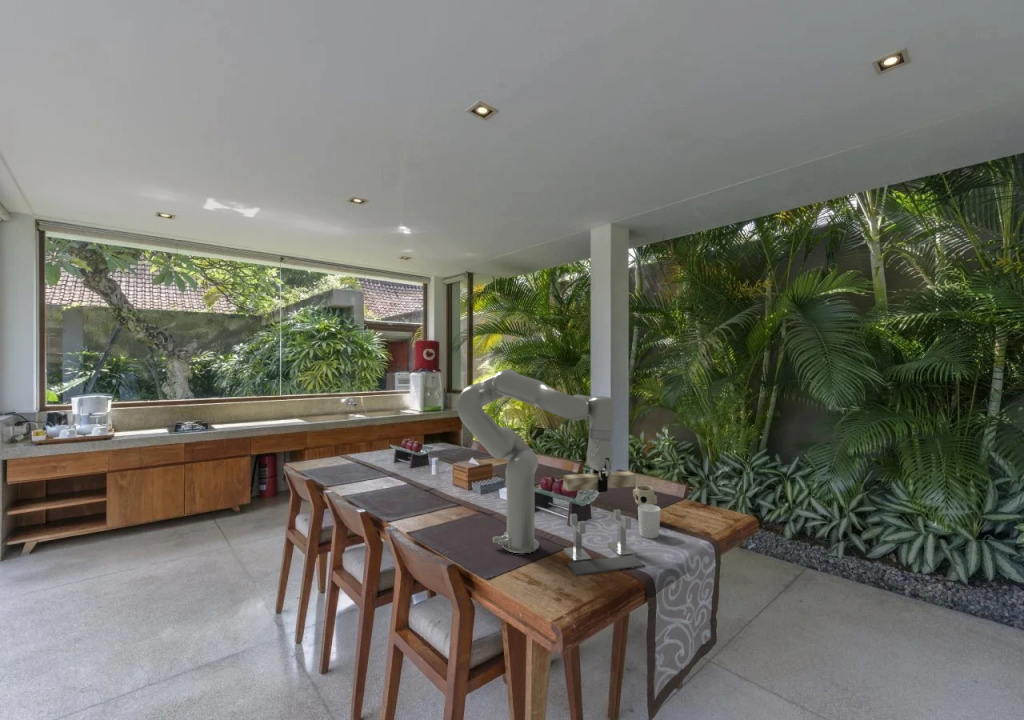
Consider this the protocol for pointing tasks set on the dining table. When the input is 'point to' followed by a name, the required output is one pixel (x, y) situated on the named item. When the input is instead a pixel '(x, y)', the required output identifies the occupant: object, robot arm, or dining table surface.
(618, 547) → the hook stands
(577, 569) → the mat
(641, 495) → the character mug
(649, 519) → the white cup
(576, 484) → the rail
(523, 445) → the robot arm
